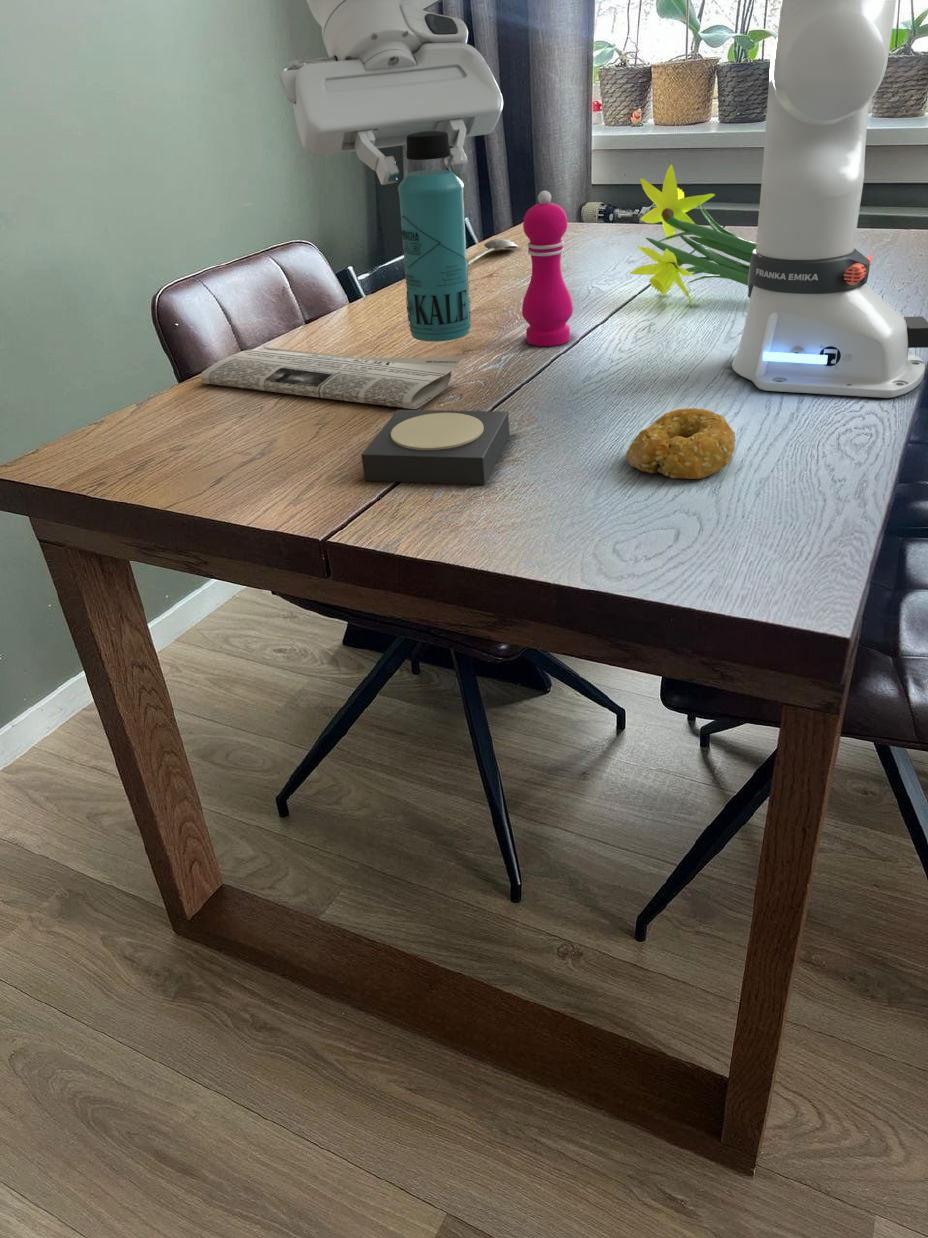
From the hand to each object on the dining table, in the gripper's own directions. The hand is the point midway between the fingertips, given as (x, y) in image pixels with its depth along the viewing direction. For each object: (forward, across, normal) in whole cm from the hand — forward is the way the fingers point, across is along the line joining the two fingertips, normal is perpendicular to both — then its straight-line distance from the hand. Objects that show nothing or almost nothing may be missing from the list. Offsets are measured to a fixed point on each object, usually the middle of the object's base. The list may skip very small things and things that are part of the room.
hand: (426, 174), depth 89 cm
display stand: (+20, -1, +20) cm, 28 cm away
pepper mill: (-1, +29, +41) cm, 50 cm away
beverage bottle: (+12, 0, +11) cm, 17 cm away
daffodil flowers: (-1, +62, +41) cm, 74 cm away
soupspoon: (-38, +46, +78) cm, 98 cm away
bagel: (+32, +19, +8) cm, 38 cm away
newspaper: (-2, -3, +42) cm, 42 cm away
